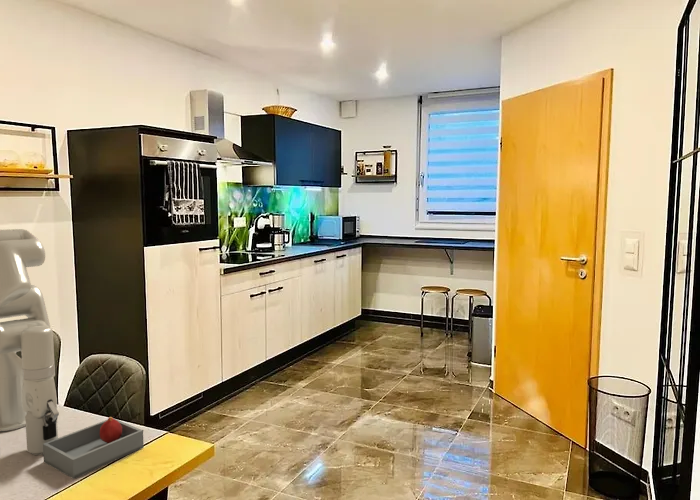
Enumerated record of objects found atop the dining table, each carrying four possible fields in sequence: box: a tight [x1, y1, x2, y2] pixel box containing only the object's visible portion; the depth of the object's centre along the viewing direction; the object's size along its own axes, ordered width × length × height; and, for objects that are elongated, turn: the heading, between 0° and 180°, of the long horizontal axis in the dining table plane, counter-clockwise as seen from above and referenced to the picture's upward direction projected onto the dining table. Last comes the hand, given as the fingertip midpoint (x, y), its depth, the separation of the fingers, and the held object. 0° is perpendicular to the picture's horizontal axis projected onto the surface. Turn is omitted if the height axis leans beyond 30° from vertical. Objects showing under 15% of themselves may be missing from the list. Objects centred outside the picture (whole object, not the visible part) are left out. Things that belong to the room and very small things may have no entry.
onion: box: [100, 416, 122, 443], centre depth 145 cm, size 6×6×8 cm
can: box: [25, 411, 59, 456], centre depth 143 cm, size 8×8×12 cm
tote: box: [42, 417, 144, 480], centre depth 140 cm, size 15×20×5 cm
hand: (42, 433), depth 143 cm, fingers closed on can, 7 cm apart
